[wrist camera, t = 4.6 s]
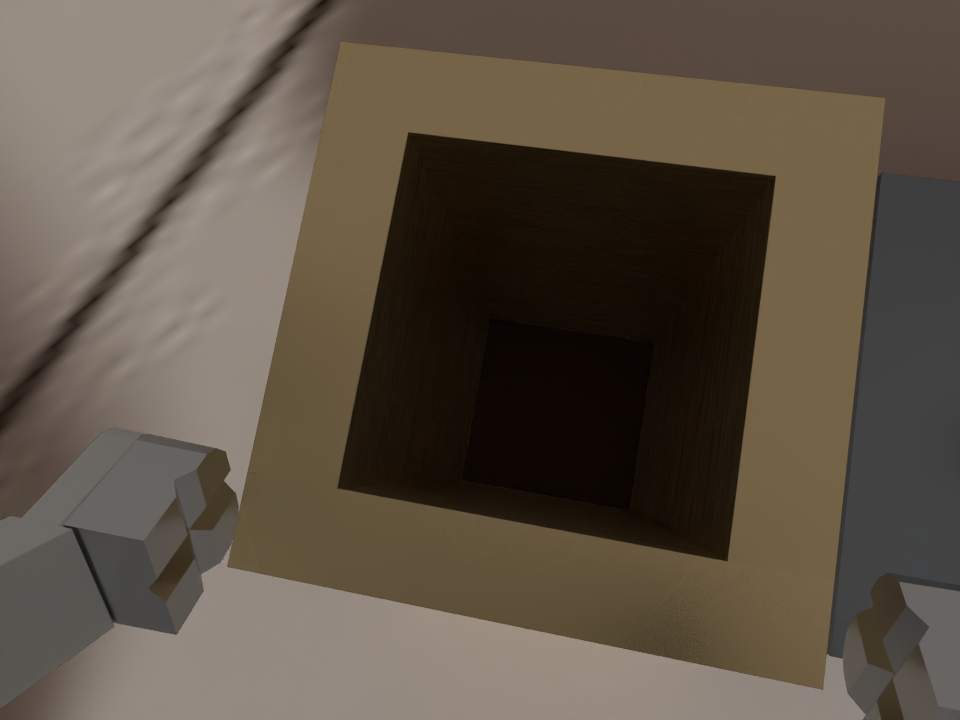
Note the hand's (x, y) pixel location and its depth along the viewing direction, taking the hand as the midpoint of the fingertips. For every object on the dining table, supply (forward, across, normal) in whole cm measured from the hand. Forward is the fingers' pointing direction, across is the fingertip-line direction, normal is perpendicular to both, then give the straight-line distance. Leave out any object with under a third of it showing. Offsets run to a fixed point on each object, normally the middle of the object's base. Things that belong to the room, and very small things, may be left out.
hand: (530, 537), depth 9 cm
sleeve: (+7, 0, +4) cm, 8 cm away
